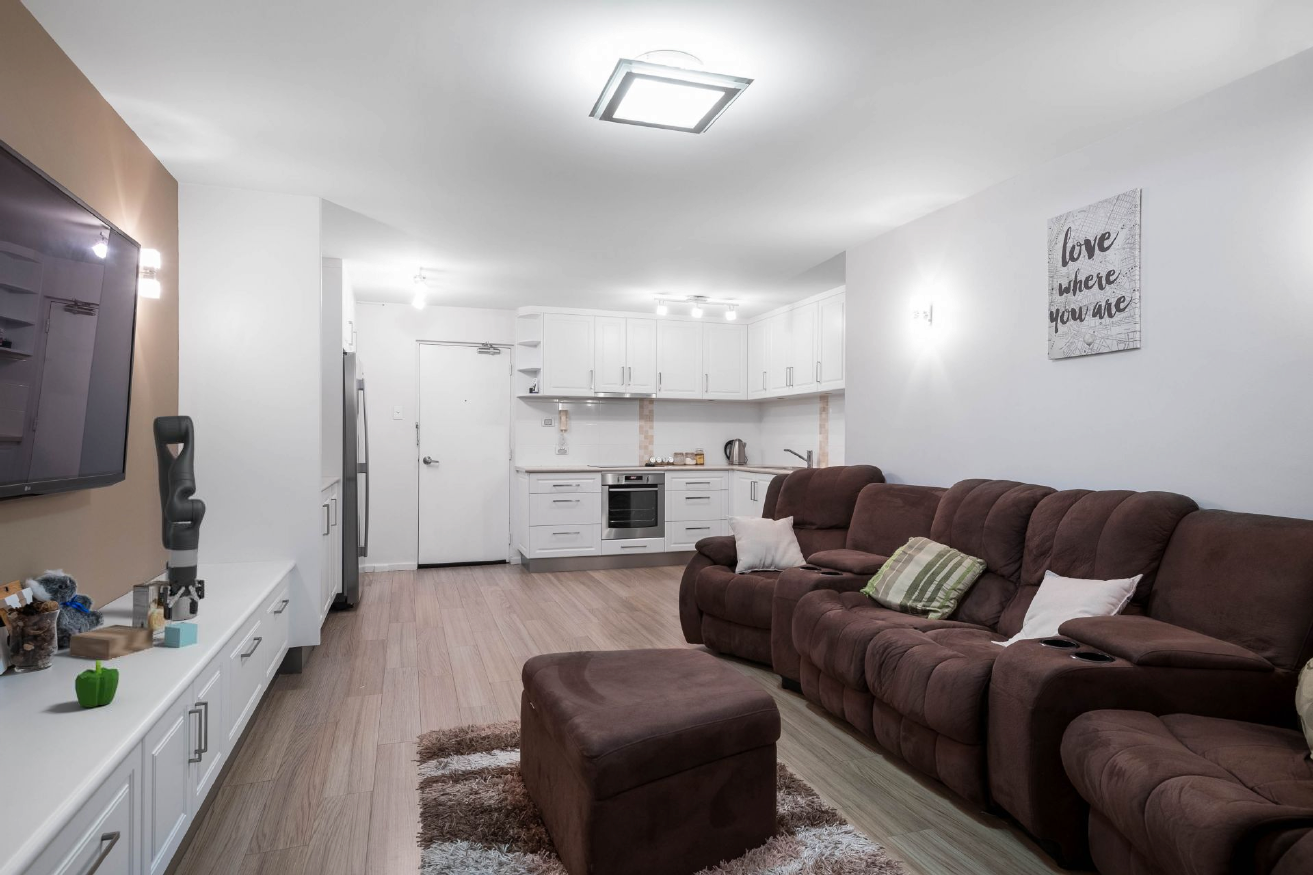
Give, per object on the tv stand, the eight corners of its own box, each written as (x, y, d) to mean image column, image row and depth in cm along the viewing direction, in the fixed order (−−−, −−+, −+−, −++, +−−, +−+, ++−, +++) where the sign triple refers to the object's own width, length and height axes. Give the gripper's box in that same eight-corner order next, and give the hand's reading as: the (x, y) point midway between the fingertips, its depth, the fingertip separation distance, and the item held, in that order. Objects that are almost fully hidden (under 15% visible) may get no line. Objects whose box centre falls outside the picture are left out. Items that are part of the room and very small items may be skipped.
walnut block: (115, 644, 227) (116, 624, 228) (152, 648, 224) (153, 628, 224) (69, 656, 214) (70, 635, 214) (108, 661, 211) (109, 640, 211)
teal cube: (181, 641, 232) (182, 622, 232) (196, 643, 231) (197, 623, 231) (164, 646, 226) (164, 626, 226) (179, 648, 225) (180, 628, 225)
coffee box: (155, 628, 246) (157, 579, 246) (171, 629, 245) (173, 581, 245) (130, 635, 237) (132, 584, 237) (147, 636, 236) (149, 586, 236)
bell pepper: (109, 709, 174) (111, 666, 174) (68, 711, 172) (70, 668, 172) (124, 697, 182) (125, 656, 182) (84, 699, 180) (86, 658, 180)
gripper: (193, 560, 237) (191, 611, 236) (152, 566, 223) (149, 620, 222) (212, 561, 234) (210, 613, 234) (171, 567, 221) (168, 622, 220)
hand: (180, 616), depth 228 cm, fingers open, 8 cm apart
